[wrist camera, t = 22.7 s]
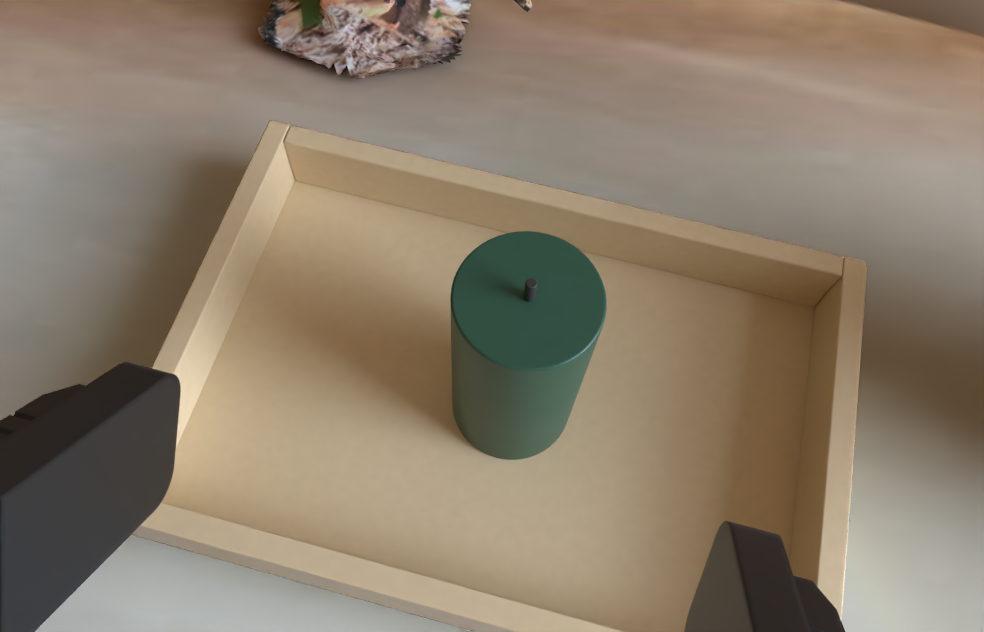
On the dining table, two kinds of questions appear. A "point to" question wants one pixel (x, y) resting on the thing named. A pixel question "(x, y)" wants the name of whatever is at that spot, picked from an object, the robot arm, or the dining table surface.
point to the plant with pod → (369, 32)
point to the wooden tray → (429, 413)
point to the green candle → (521, 340)
